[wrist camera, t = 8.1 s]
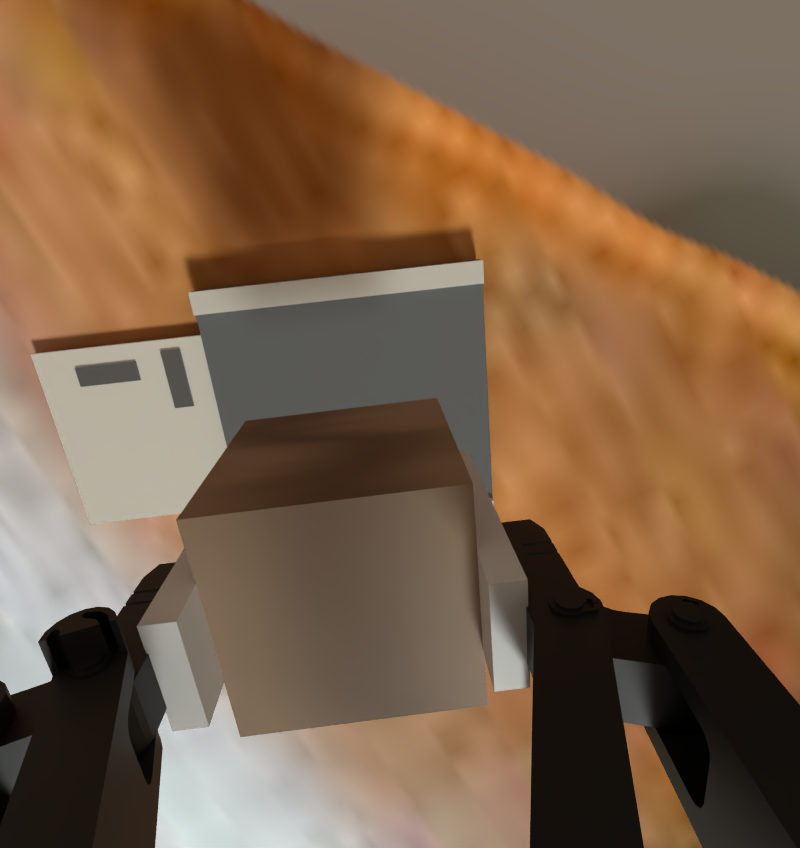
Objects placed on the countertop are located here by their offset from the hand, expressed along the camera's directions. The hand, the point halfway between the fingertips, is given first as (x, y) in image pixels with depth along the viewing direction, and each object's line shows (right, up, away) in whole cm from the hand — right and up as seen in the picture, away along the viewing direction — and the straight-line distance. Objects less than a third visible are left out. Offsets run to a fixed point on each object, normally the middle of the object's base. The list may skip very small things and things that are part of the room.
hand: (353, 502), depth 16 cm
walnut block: (0, 0, +1) cm, 1 cm away
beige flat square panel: (-11, +2, +9) cm, 14 cm away
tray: (-1, +3, +9) cm, 10 cm away
